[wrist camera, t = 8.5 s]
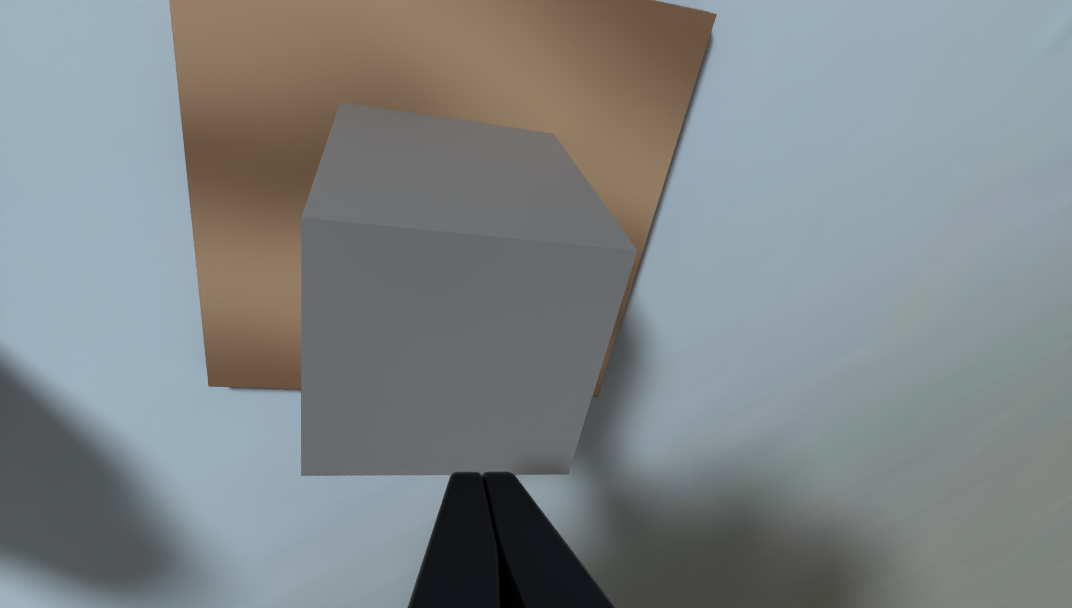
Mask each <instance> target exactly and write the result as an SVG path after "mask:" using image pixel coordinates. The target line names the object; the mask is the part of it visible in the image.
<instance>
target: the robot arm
mask: <svg viewBox="0 0 1072 608" xmlns="http://www.w3.org/2000/svg"><path fill="white" fill-rule="evenodd" d="M408 608H615V607H614V605H613V604H612V603H611V601H610V600H609V599H608V597H607V596H606V595H605V594H604V592H603V591H602V590H601V588H600V587H599V586H598V584H597V583H596V582H595V580H594V579H593V578H592V576H591V575H590V574H589V572H588V571H587V570H586V568H585V567H584V566H583V565H582V563H581V562H580V561H579V559H578V558H577V557H576V555H575V554H574V553H573V551H572V550H571V549H570V547H569V546H568V545H567V543H566V542H565V541H564V540H563V538H562V537H561V536H560V534H559V533H558V532H557V530H556V529H555V528H554V526H553V525H552V524H551V522H550V521H549V520H548V518H547V517H546V516H545V514H544V513H543V512H542V511H541V509H540V508H539V507H538V505H537V504H536V503H535V501H534V500H533V499H532V497H531V496H530V495H529V493H528V492H527V491H526V489H525V488H524V487H523V485H522V484H521V483H520V482H519V480H518V479H517V478H516V476H515V475H514V474H513V473H511V472H507V471H503V472H485V473H483V474H482V475H481V474H480V473H479V472H454V473H452V475H451V476H450V479H449V482H448V485H447V488H446V491H445V494H444V497H443V500H442V504H441V507H440V510H439V513H438V516H437V519H436V522H435V525H434V528H433V531H432V534H431V537H430V540H429V543H428V547H427V550H426V553H425V556H424V559H423V562H422V565H421V568H420V571H419V574H418V577H417V580H416V583H415V586H414V590H413V593H412V596H411V599H410V602H409V605H408Z"/></svg>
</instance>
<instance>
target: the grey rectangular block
mask: <svg viewBox="0 0 1072 608" xmlns="http://www.w3.org/2000/svg"><path fill="white" fill-rule="evenodd" d="M636 254H637V249H636V248H635V246H634V245H633V244H632V242H631V241H630V239H629V238H628V237H627V235H626V234H625V232H624V231H623V230H622V228H621V227H620V226H619V224H618V223H617V221H616V220H615V219H614V217H613V216H612V214H611V213H610V212H609V210H608V209H607V207H606V206H605V205H604V203H603V202H602V200H601V199H600V198H599V196H598V195H597V193H596V192H595V191H594V189H593V188H592V186H591V185H590V184H589V182H588V181H587V180H586V178H585V177H584V175H583V174H582V173H581V171H580V170H579V168H578V167H577V166H576V164H575V163H574V161H573V160H572V159H571V157H570V156H569V154H568V153H567V152H566V150H565V149H564V147H563V146H562V145H561V143H560V142H559V140H558V139H557V138H556V136H555V135H554V133H547V132H540V131H533V130H526V129H520V128H513V127H506V126H499V125H493V124H486V123H479V122H472V121H465V120H459V119H452V118H445V117H438V116H432V115H425V114H418V113H411V112H404V111H398V110H391V109H384V108H377V107H371V106H364V105H357V104H350V103H343V102H340V104H339V107H338V110H337V113H336V116H335V119H334V122H333V125H332V128H331V131H330V134H329V137H328V140H327V143H326V146H325V149H324V152H323V155H322V158H321V161H320V164H319V167H318V170H317V173H316V175H315V178H314V181H313V184H312V187H311V190H310V193H309V196H308V199H307V202H306V205H305V208H304V211H303V214H302V217H301V476H332V475H452V473H454V472H479V473H480V474H481V475H482V474H483V473H485V472H503V471H507V472H511V473H513V474H514V475H522V474H569V470H570V467H571V464H572V461H573V458H574V454H575V451H576V448H577V445H578V441H579V438H580V435H581V432H582V428H583V425H584V422H585V419H586V416H587V412H588V409H589V406H590V403H591V399H592V396H593V393H594V390H595V386H596V383H597V380H598V377H599V374H600V370H601V367H602V364H603V361H604V357H605V354H606V351H607V348H608V344H609V341H610V338H611V335H612V332H613V328H614V325H615V322H616V319H617V315H618V312H619V309H620V306H621V302H622V299H623V296H624V293H625V290H626V286H627V283H628V280H629V277H630V273H631V270H632V267H633V264H634V261H635V257H636Z"/></svg>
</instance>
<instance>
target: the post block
mask: <svg viewBox="0 0 1072 608" xmlns="http://www.w3.org/2000/svg"><path fill="white" fill-rule="evenodd" d="M169 2H170V12H171V22H172V31H173V41H174V51H175V61H176V71H177V80H178V90H179V100H180V110H181V120H182V130H183V139H184V149H185V159H186V169H187V179H188V188H189V198H190V208H191V218H192V228H193V237H194V247H195V257H196V267H197V277H198V287H199V296H200V306H201V316H202V326H203V336H204V345H205V355H206V365H207V375H208V385H209V386H211V387H248V388H285V389H301V217H302V214H303V211H304V208H305V205H306V202H307V199H308V196H309V193H310V190H311V187H312V184H313V181H314V178H315V175H316V173H317V170H318V167H319V164H320V161H321V158H322V155H323V152H324V149H325V146H326V143H327V140H328V137H329V134H330V131H331V128H332V125H333V122H334V119H335V116H336V113H337V110H338V107H339V104H340V102H343V103H350V104H357V105H364V106H371V107H377V108H384V109H391V110H398V111H404V112H411V113H418V114H425V115H432V116H438V117H445V118H452V119H459V120H465V121H472V122H479V123H486V124H493V125H499V126H506V127H513V128H520V129H526V130H533V131H540V132H547V133H554V135H555V136H556V138H557V139H558V140H559V142H560V143H561V145H562V146H563V147H564V149H565V150H566V152H567V153H568V154H569V156H570V157H571V159H572V160H573V161H574V163H575V164H576V166H577V167H578V168H579V170H580V171H581V173H582V174H583V175H584V177H585V178H586V180H587V181H588V182H589V184H590V185H591V186H592V188H593V189H594V191H595V192H596V193H597V195H598V196H599V198H600V199H601V200H602V202H603V203H604V205H605V206H606V207H607V209H608V210H609V212H610V213H611V214H612V216H613V217H614V219H615V220H616V221H617V223H618V224H619V226H620V227H621V228H622V230H623V231H624V232H625V234H626V235H627V237H628V238H629V239H630V241H631V242H632V244H633V245H634V246H635V248H636V249H637V254H636V257H635V261H634V264H633V267H632V270H631V273H630V277H629V280H628V283H627V286H626V290H625V293H624V296H623V299H622V302H621V306H620V309H619V312H618V315H617V319H616V322H615V325H614V328H613V332H612V335H611V338H610V341H609V344H608V348H607V351H606V354H605V357H604V361H603V364H602V367H601V370H600V374H599V377H598V380H597V383H596V386H595V390H594V393H593V396H592V397H598V394H599V391H600V388H601V384H602V381H603V378H604V375H605V372H606V368H607V365H608V362H609V359H610V355H611V352H612V349H613V346H614V343H615V339H616V336H617V333H618V330H619V327H620V323H621V320H622V317H623V314H624V310H625V307H626V304H627V301H628V298H629V294H630V291H631V288H632V285H633V282H634V278H635V275H636V272H637V269H638V265H639V262H640V259H641V256H642V253H643V249H644V246H645V243H646V240H647V236H648V233H649V230H650V227H651V224H652V220H653V217H654V214H655V211H656V208H657V204H658V201H659V198H660V195H661V191H662V188H663V185H664V182H665V179H666V175H667V172H668V169H669V166H670V163H671V159H672V156H673V153H674V150H675V146H676V143H677V140H678V137H679V134H680V130H681V127H682V124H683V121H684V118H685V114H686V111H687V108H688V105H689V101H690V98H691V95H692V92H693V89H694V85H695V82H696V79H697V76H698V73H699V69H700V66H701V63H702V60H703V56H704V53H705V50H706V47H707V44H708V40H709V37H710V34H711V31H712V28H713V24H714V21H715V18H716V15H717V14H713V13H710V12H706V11H702V10H697V9H692V8H688V7H683V6H678V5H674V4H669V3H664V2H659V1H655V0H169Z"/></svg>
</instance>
